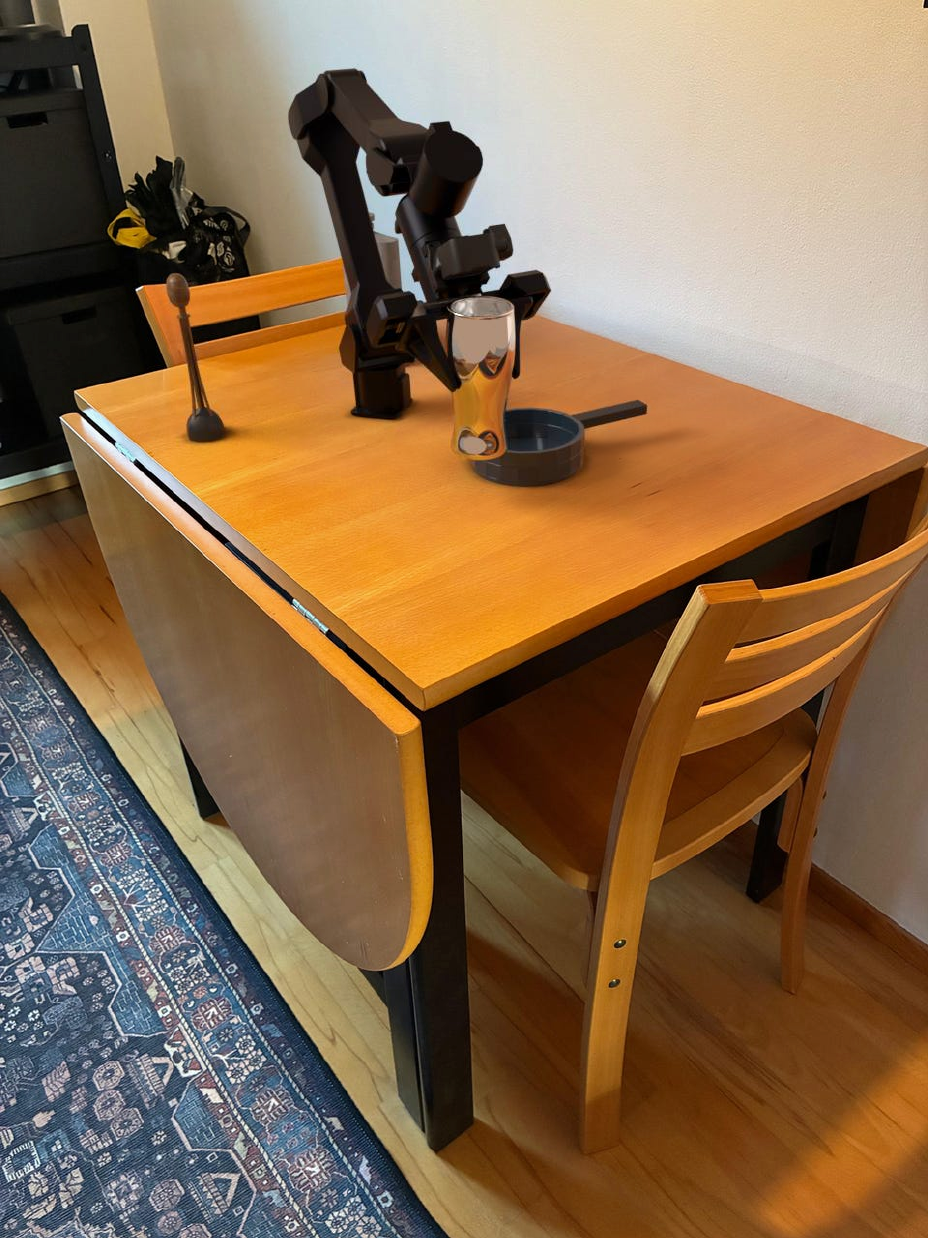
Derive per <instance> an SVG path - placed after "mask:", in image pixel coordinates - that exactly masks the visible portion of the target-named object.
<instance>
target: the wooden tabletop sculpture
mask: <svg viewBox="0 0 928 1238" xmlns="http://www.w3.org/2000/svg"><path fill="white" fill-rule="evenodd" d="M189 287H190V286H189V284H188V281H187V279H186V278H185V277H184V276H183V275H182V274H181V273H177V272H175V273H174V272H173V273H170V274H169V276H168V277H167V278H166V284H165V288H166V295H167V297H168V299H169V301H170V303H171V304H172V305H173V307H175V308H177V309H178V313H179V314H178V315H176V318H177V319H178V324H179V329H180V334H181V338H182V344H183V350H184V354H185V359H186V364H187V371H188V377H189V378H188V379H189V385H190V394H191V408H192V410H191V411H192V412H191V414H190V415H189V417H188V418H187V421H186V425H185V427H186V435H187V438H188V440H189V441H191V442H196V443H206V442H207V443H208V442H213V441H216V440H219V439H222V438H223V437H224V436H225V435H226V434H227V431H226V426H225V423H224V422H223V420H222V418H221V416H220V415H219V414H218V412H216V411H214V410H213V409H211V407H210V403H209V400H208V398H207V395H206V391H205V388H204V384H203V380H202V375H201V372H200V371H201V370H200V368H199V363H198V358H197V353H196V348H195V342H194V339H193V333H192V329H191V328H192V327H191V322H190V317H191V314H190V313H187V308H186V307H188V305H189V304H190V301H191V291H190V288H189Z"/></svg>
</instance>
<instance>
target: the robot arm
mask: <svg viewBox="0 0 928 1238" xmlns="http://www.w3.org/2000/svg"><path fill="white" fill-rule="evenodd" d="M287 116H288V117H287V119H288V121H287V122H288V127H289V131H290V135H291V137H292V139H293V140H294V141H296V143H297V144H296V145H297V147H298V150H299V154H300V156H301V158H302V160H303V162H305V164H307V165H308V166H309V167H310V168H311V169H312V170H313V172H314V173H316V174H317V176H318V177H319V178H320V181H321V185H322V188H323V192H324V196H325V199H326V204H327V207H328V210H329V214H330V218H331V222H332V226H333V230H334V234H335V237H336V241H337V246H338V249H339V252H340V256H341V260H342V265H343V264H344V268H345V272H346V276H347V279H348V283H349V287H350V291H351V296H350V299H349V303H348V306H347V307H346V310H345V314H344V322H345V328H344V332H343V334H342V337H341V340H340V343H339V346H338V350H339V356H340V360H341V364H342V366H344V367H345V368H346V369H347V370H348V371H349V372H351V374H352V383H353V392H354V393H353V394H354V401H355V403H354V404H355V405H354V407H353V408H352V409H351V410H350V414H351V415H352V416H360V417H368V418H369V417H370V418H380V419H388V420H389V419H391V420H395V419H398V418H399V416H401V415H402V413H404V412H405V411H406V409H407V408H409V407H410V406H411V405H412V404H413V402H414V398H412V393H411V379H410V373H408V372H407V371H406V365H405V363H407V364H413V363H415V361H418V362H419V363H420V364H422V365H423V366H424V367H425V368H426V369H427V370H428V371H429V372H430V373H431V374H432V375H433V376H434V377H435V378H437V380H438V381H439V382H440V383H441V384H442V385H444V387H446V389H447V390H448V391H449V392H450V393H451V392H455V391H456V390H457V383H456V379H455V375H454V372H453V370H452V368H451V365H450V363H449V360H448V358H447V355H446V349H445V348H444V345H443V343H442V341H441V338H440V336H439V331H438V324H437V321H443V320H447V312H448V309H447V306H448V304H449V303H450V302H452V301H454V300H457V299H460V298H465V297H472V296H489V297H497V298H501V299H505V300H507V301H510V302H511V303H512V304H513V305H514V307H515V309H514V315H515V335H516V349H515V363H514V370H513V376H512V380H518V379H519V377H520V375H521V328H522V322H523V321H528V320H530V319H532V318H533V317H535V316H536V314H537V313H538V312H539V310H540V308H542V306H543V304H544V303H545V301H546V300H547V298H548V297H549V295H550V294H551V292H552V289H551V286H550V283H549V281H548V278H547V276H546V274H545V273H544V272H543V271H540V270H538V269H531V270H526V271H520V272H514V273H508V274H507V275H506V277H505V278H504V280H503V282H502V283H501V285H500V287H499V289H493V290H488V291H483V288H482V287H483V286H484V285H487V284H488V283H489V280H490V279H491V276H490V274H489V272H490V271H492V270H493V269H500V268H501V263H500V262H504V261H506V260H509V258H511V257H512V256H513V255H514V246H513V240H512V237H511V234H510V232H509V231H508V227H507V226H506V224H505V223H499V224H492V225H489V226H488V227H487V228H484V229H483V231H482V233H478V234H471V235H468V234H467V235H462V232H461V230H460V229H461V228H460V227H459V224H458V222H457V219H456V216H458V215H459V214H460V213H462V211H463V210H464V209H465V207H466V204H467V202H468V200H469V198H470V196H471V194H472V192H473V189H474V187H475V185H476V183H477V181H478V178H479V177H480V174H481V172H482V170H483V166H484V155H483V151H482V150H481V148H480V146H478V145H477V144H476V143H475V142H474V141H473V140H472V139H471V138H470V137H469V136H467V135H466V134H464V133H462V132H460V131H456V130H453V127H452V124H451V121H450V120H445V121H434V122H430V123H429V127H428V128H427V127H425V126H423V125H422V124H420V123H416V122H411V121H407V120H403V119H401V118H399V117H398V116H397V115H396V113H395V112H394V111H393V110H392V109H391V108H390V107H389V105H387V104H386V102H385V101H384V100H383V99H382V98H381V97H380V96H379V94H378V93H377V92H376V91H375V90H374V89H373V88H372V87H371V86H370V84H369V83H368V81H367V77H366V74H365V73H364V71H363V70H362V69H360V70H359V69H358V68H355V67H353V68H340V69H327V70H325V71H324V72H323V73H322V72H321V73H319V74H318V75H317V77H316V80H315V81H314V82H313V83H312V84H310V85H309V86H307V87H305V88H304V89H302V90H300V91H299V92H297V93H296V95H294V97H293V100H292V102H291V104H290V106H289V109H288V112H287ZM360 149H362V150H363V151H364V153H365V170H366V175H367V178H368V181H369V182H370V184H371V186H373V187H374V189H375V190H376V192H377V193H378V194H379V195H380V196H381V197H383V198H384V197H393V196H400V195H404V196H402V198H401V199H400V200H399V202H398V204H397V207H396V209H395V214H394V216H395V221H394V233H395V234H396V235H402V238H403V240H404V244H405V246H406V249H407V251H408V255H409V258H410V260H411V263H412V265H413V269H412V270H411V273H410V275H411V277H412V280H413V283H419V285H420V288H421V290H422V293H423V296H424V299H425V301H423V300H417V297H416V295H415V293H413V292H412V291H411V290H407V291H404V290H403V288H402V289H401V288H397V289H395V288H394V287H393V286H392V285H391V284H390V283H389V282H388V281H387V279H386V276H385V272H384V268H383V265H382V261H381V257H380V253H379V249H378V245H377V241H376V238H375V234H374V231H375V230H374V229H373V226H372V223H373V221H372V222H371V218H370V215H369V212H370V211H369V207H368V204H367V199H366V195H365V191H364V188H363V184H362V179H361V177H360V172H359V168H358V164H357V160H358V157H359V152H360Z"/></svg>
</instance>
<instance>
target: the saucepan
mask: <svg viewBox="0 0 928 1238" xmlns="http://www.w3.org/2000/svg"><path fill="white" fill-rule="evenodd" d="M571 415H572V414H569V413H567V412H564V411H559V410H555V409H551V408H544V407H543V408H542V407H540V408H539V407H513V408H506V413H505V426H506V434H507V439H508V450H507V452H506V453H505V454H503V455H502V456H500V457H497V458H494V459H489V460H471V459H469V463H470V464H469V465H470V468H471V469H472V471H473V473H475V474H476V475H478V476H479V477H481V478H483V479H484V480H487V481H489V482H492V483H496V484H501V485H506V486H514V487H537V486H545V485H550V484H554V483H559V482H562V481H564V480H567V479H569V478H571V477H573V476H574V475H576V474H577V473H578V472H580V470H581V469H582V467H583V465H584V460H585V439H586V438H585V436H586V434H585V433H586V429H584V426H583V424H582V423H581V422H580V421H579V420H577V418H574V417H572V416H571Z"/></svg>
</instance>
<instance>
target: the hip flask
mask: <svg viewBox="0 0 928 1238" xmlns="http://www.w3.org/2000/svg"><path fill="white" fill-rule="evenodd" d="M369 215H370V218H371V222H372V226H373V230H374V229H375V223H374V222H375V221H376V215H375V213H374V212H370V211H369ZM374 234H375V238H376V241H377V245H378V249H379V253H380V257H381V261H382V265H383V268H384V272H385V276H386V279H387V281H388V282H389V283H390V284H391V285H392V286H393V287H394V288H395V289H397V288H401V289H402V290H403V281H402V270H401V269H402V267H401V255H400V254H401V253H400V242H399V241H400V240H399V238H398V237H394V236H390V235H386V234H384V233H380V232H377V231H375V230H374ZM342 268H343V277H344V286H345V287H344V289H345V297H346V305H347V306H348V303H349V299H350V296H351V291H350V287H349V283H348V279H347V276H346V272H345V268H344V264H343V263H342ZM407 364H408V363H405V366H406V365H407Z"/></svg>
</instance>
